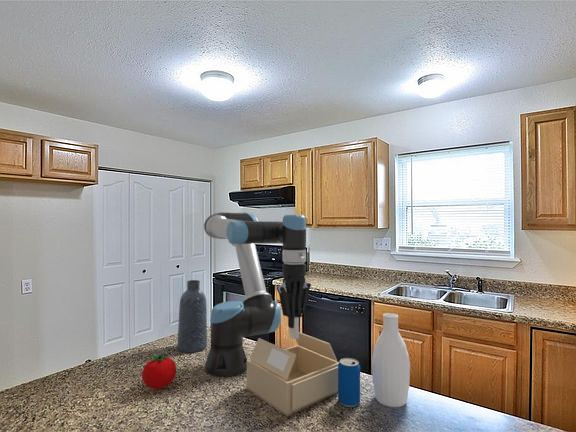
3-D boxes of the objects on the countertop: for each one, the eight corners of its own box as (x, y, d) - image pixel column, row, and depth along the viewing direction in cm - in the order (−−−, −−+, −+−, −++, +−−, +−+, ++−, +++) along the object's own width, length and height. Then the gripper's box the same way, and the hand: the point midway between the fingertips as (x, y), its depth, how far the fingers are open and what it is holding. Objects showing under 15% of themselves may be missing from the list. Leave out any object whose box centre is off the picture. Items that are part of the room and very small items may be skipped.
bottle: (390, 413, 94) (390, 322, 94) (364, 395, 104) (364, 312, 104) (418, 404, 99) (418, 317, 100) (390, 387, 109) (390, 308, 109)
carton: (245, 388, 108) (245, 359, 108) (296, 369, 122) (296, 344, 122) (288, 418, 91) (289, 384, 91) (342, 392, 105) (342, 363, 106)
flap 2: (337, 360, 107) (329, 343, 105) (336, 361, 106) (328, 344, 104) (299, 344, 121) (291, 329, 118) (298, 345, 120) (291, 330, 118)
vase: (203, 353, 137) (204, 283, 138) (173, 353, 137) (174, 283, 137) (209, 342, 149) (210, 278, 150) (182, 342, 149) (183, 278, 150)
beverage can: (360, 409, 96) (360, 367, 96) (337, 407, 97) (337, 365, 97) (360, 398, 102) (360, 358, 102) (338, 396, 103) (338, 356, 104)
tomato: (182, 386, 108) (182, 355, 109) (150, 398, 101) (151, 365, 101) (166, 376, 115) (167, 347, 116) (135, 387, 108) (136, 355, 108)
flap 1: (249, 359, 107) (258, 337, 109) (250, 359, 107) (260, 338, 110) (285, 379, 93) (295, 354, 95) (287, 379, 93) (296, 354, 96)
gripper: (286, 265, 101) (285, 345, 100) (316, 262, 109) (316, 336, 108) (270, 263, 106) (270, 338, 105) (301, 260, 115) (301, 330, 114)
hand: (294, 337), depth 107 cm, fingers closed
